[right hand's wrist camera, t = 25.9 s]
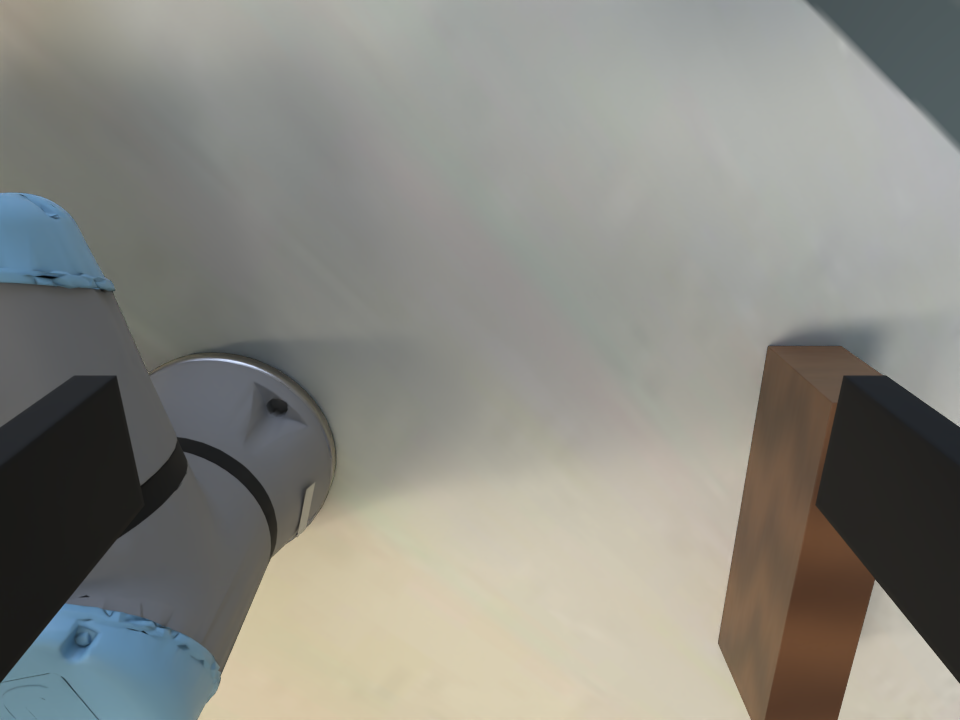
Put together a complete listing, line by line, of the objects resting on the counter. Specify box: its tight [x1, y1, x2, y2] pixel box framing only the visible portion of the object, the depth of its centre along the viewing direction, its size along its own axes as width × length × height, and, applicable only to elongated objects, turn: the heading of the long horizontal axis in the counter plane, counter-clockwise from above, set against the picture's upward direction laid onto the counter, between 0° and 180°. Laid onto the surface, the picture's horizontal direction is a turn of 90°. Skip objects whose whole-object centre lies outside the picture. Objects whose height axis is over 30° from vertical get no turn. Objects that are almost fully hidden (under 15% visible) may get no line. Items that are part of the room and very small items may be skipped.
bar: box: [718, 346, 882, 720], centre depth 46 cm, size 26×5×9 cm, turn 0°
